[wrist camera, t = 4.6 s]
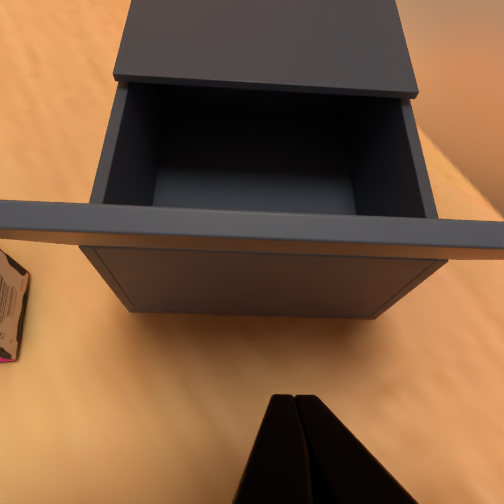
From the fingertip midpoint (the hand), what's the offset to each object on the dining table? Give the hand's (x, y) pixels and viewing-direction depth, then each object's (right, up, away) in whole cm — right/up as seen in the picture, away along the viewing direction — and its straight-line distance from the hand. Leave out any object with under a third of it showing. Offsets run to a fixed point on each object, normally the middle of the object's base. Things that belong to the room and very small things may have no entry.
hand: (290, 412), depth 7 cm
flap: (0, +3, +2) cm, 4 cm away
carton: (-1, +6, +16) cm, 17 cm away
